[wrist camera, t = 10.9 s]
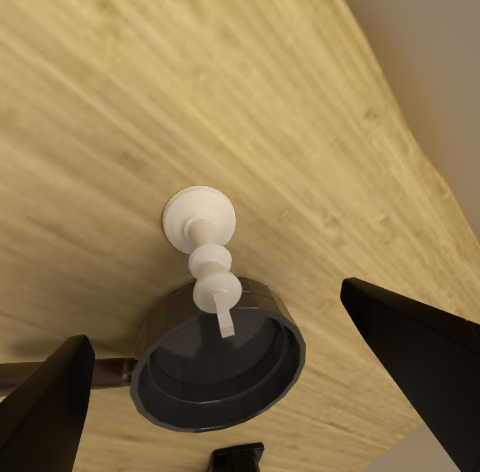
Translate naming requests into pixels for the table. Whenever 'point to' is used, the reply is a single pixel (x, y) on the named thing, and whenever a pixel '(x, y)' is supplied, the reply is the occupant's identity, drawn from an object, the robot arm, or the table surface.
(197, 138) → the table surface
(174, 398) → the pan
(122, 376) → the pan handle
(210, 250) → the chess piece
